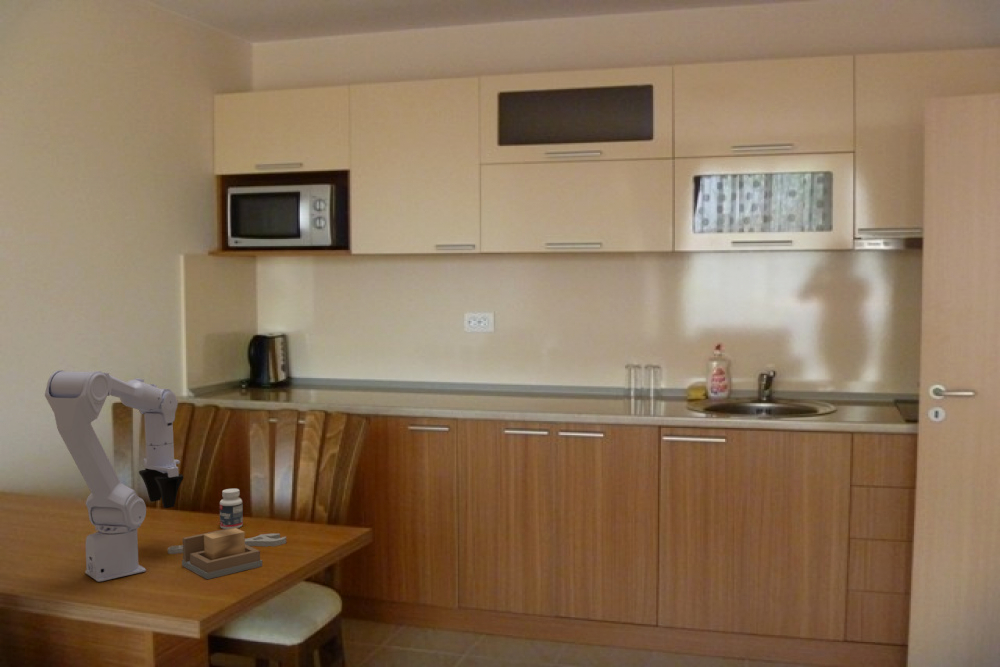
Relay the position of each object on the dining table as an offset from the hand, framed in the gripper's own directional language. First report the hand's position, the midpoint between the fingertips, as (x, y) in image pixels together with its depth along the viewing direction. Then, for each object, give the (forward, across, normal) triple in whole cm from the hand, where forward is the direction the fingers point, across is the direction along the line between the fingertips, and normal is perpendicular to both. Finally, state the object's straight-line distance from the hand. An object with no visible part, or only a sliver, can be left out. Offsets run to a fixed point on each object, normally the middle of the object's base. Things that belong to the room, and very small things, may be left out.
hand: (162, 504), depth 195 cm
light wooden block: (+9, -21, -4) cm, 23 cm away
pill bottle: (+11, +8, -20) cm, 24 cm away
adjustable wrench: (+11, -7, -12) cm, 18 cm away
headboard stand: (+10, -19, -4) cm, 22 cm away
